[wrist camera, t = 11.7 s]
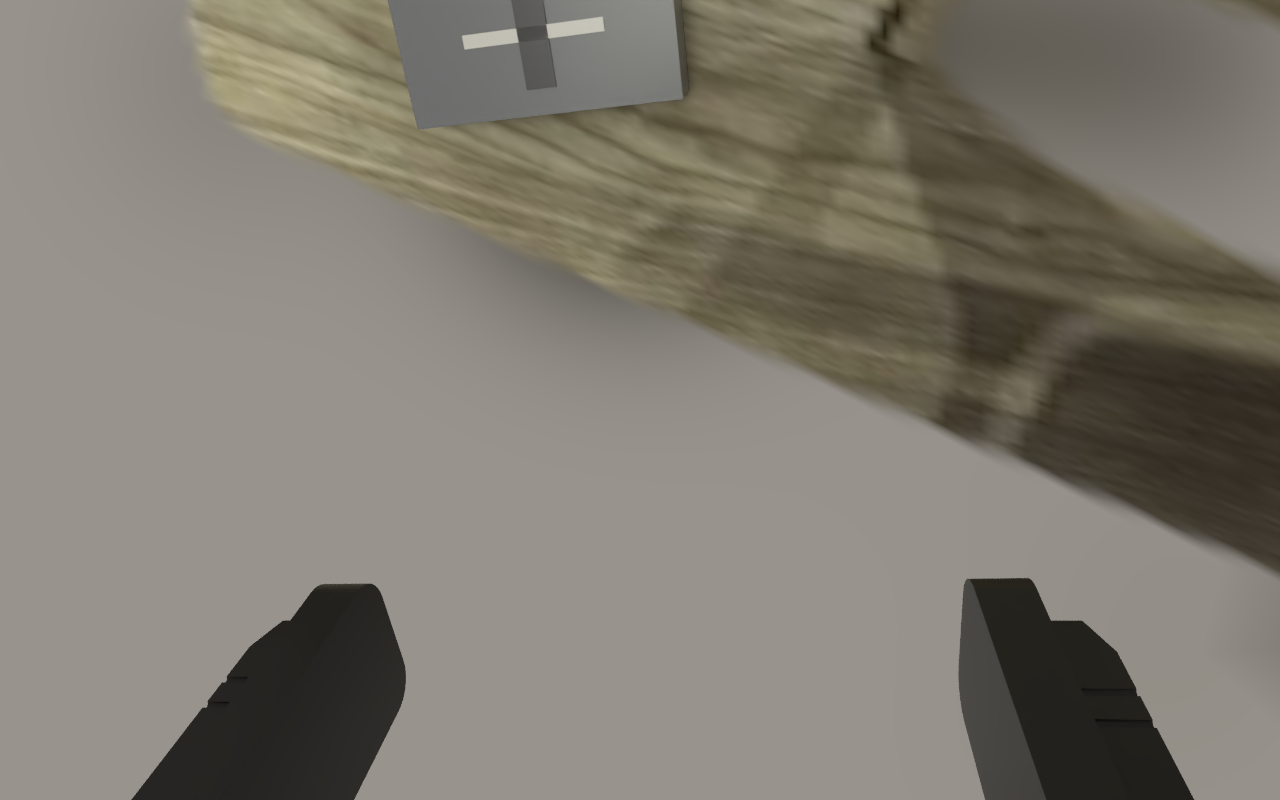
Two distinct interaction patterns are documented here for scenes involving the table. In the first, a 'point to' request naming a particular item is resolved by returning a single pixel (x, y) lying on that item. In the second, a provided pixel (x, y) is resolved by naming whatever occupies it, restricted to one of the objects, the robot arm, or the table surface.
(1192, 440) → the table surface
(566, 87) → the console
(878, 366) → the table surface
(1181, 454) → the table surface
